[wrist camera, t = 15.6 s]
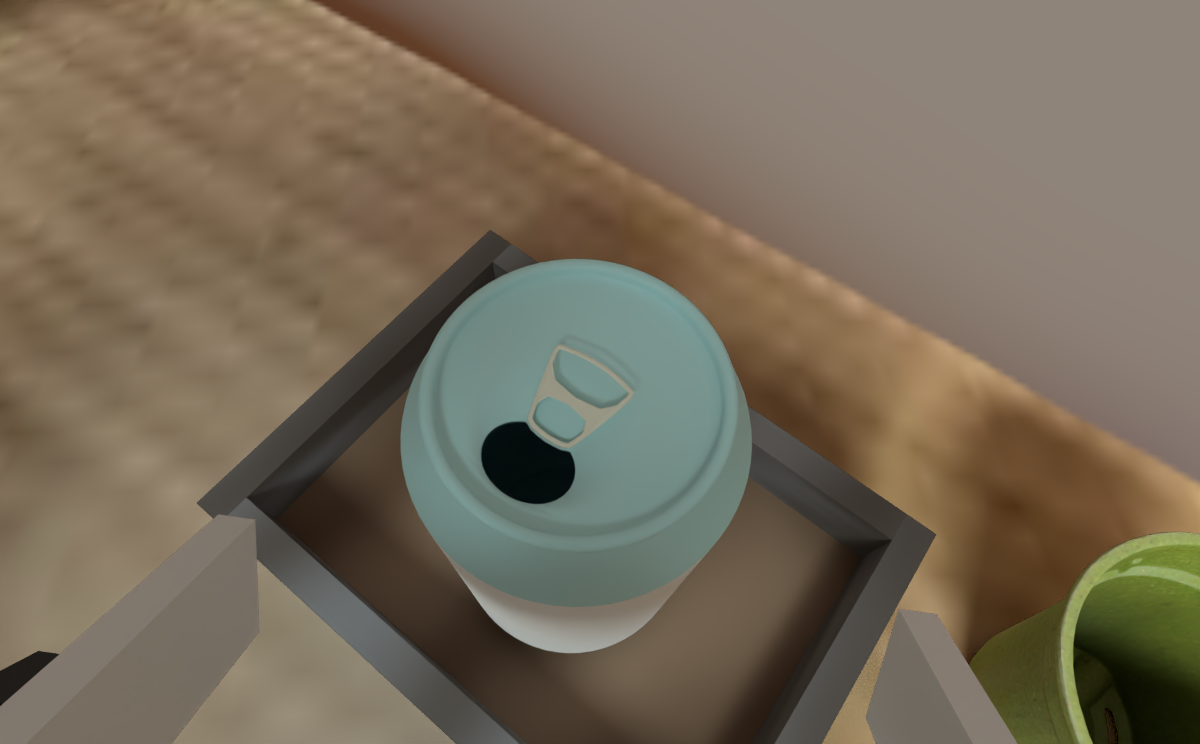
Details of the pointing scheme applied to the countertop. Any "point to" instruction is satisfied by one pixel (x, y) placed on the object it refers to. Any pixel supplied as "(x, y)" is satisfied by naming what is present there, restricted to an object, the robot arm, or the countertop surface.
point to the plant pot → (1107, 652)
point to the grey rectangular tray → (590, 679)
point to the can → (575, 448)
